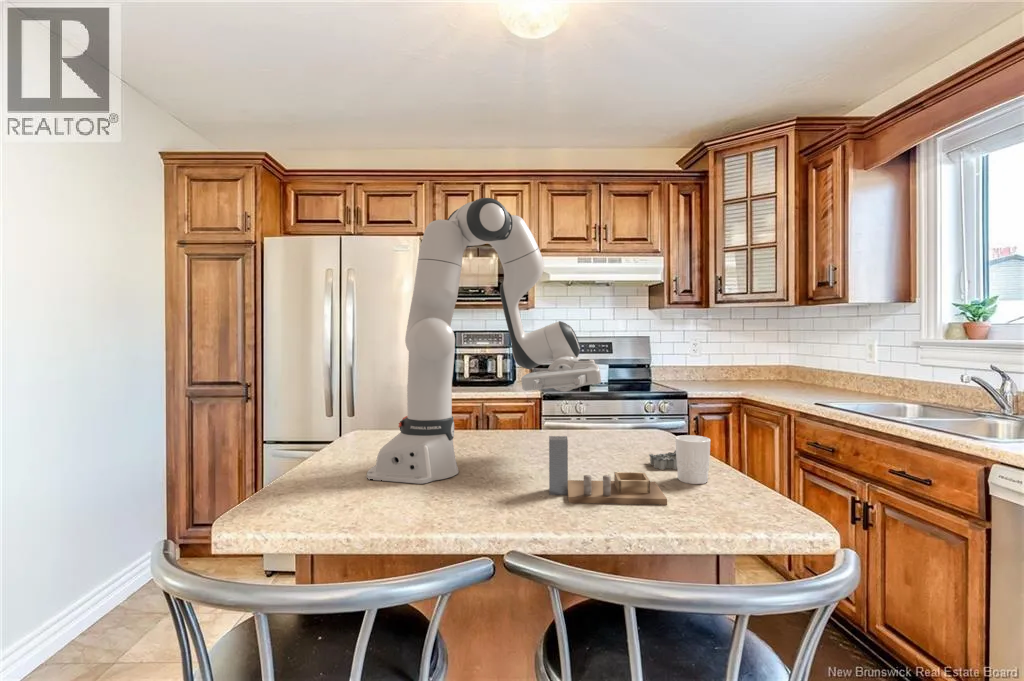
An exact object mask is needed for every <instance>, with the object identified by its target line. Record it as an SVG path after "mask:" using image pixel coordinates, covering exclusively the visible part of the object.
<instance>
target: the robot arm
mask: <svg viewBox="0 0 1024 681" xmlns="http://www.w3.org/2000/svg"><path fill="white" fill-rule="evenodd" d="M485 244H488V245H490V247H492V248H493V249H494V251H495V252H496V254H497V257H498V259H499V261H500V264H501V267H502V269H503V281H502V282H501V284H500V285H499V295H500V301H501V305H502V309H503V310H502V311H503V314H504V317H505V322H506V326H507V331H508V335H509V338H510V342H511V348H512V349H511V352H512V357H513V359H514V361H515V363H516V365H517V366H518V367H521V368H523V369H526V370H532V369H535V368H537V367H538V366H540V365H542V364H544V363H548V362H550V361H552V362H551V364H549V366H548V368H547V370H543V371H535V372H529V373H526V374H524V375H523V376H522V377H521V380H520V381H521V386H522V387H521V388H522V390H523V391H527V392H528V391H538V390H547V389H554V390H556V391H559V392H569V391H572V390H573V389H575V390H576V389H578V388H581V387H584V386H590V385H591V386H592V385H597V384H601V383H602V378H601V370H600V367H599V365H598V363H596V362H595V360H594V359H585V358H583V359H581V358H580V357H579V356H580V352H581V346H580V342H579V340H578V336H577V334H576V333H575V330H574V329H573V328H572V327H571V326H570V325H569V324H568V323H566V322H564V321H556V322H553V323H550V324H549V325H545V326H544V327H540V328H538V329H535V330H533V331H530V332H526V331H525V329H524V326H523V322H522V319H521V314H520V310H519V309H520V308H519V303H520V301H521V300H522V298H523V297H524V296H525V295H526V294H527V293H528V292H529V291H530V290H531V289H532V288H534V286H535V285H537V283H538V282H539V281H540V279H541V278H542V276H543V273H544V270H545V262H544V258H543V256H542V253H541V250H540V247H539V245H538V244H537V241H536V239H535V237H534V234H533V233H532V231H531V229H530V228H529V225H528V224H527V223H526V221H525V220H524V218H522V217H521V216H519V215H517V214H516V215H515V214H511V213H510V212H509V211H508V210H507V208H506V207H505V206H504V205H503V204H502V203H501V202H500V201H499V200H497V199H495V198H492V197H481V198H478V199H476V200H474V201H470V202H469V201H468V202H467V203H465V204H463V205H462V206H461V207H459V208H457V209H456V210H454V211H453V212H452V213H451V215H450V216H449V217H448V218H447V219H437V220H436V219H434V220H432V221H430V223H428V224H427V226H426V228H425V230H424V232H423V235H422V239H421V243H420V246H419V251H418V257H417V265H416V271H415V276H414V285H413V292H412V298H411V302H410V308H409V314H408V319H407V326H406V332H405V340H404V341H405V346H406V348H407V351H408V365H407V366H408V367H407V369H408V370H407V385H406V388H407V389H406V392H407V395H406V397H407V399H406V400H407V403H406V404H407V408H406V409H407V415H406V416H404V417H402V420H400V421H399V423H398V428H399V431H400V432H399V433H398V434H397V435H396V436H394V437H393V438H392V439H390V440H389V441H388V442H387V443H385V444H384V445H383V446H382V447H381V449H379V451H378V454H377V458H376V464H375V465H373V466H371V468H369V469H368V471H366V472H367V473H366V479H367V478H368V480H370V479H373V481H381V480H382V481H383V482H394V483H396V482H397V483H407V484H419V485H420V484H421V485H422V484H423V485H424V484H427V483H428V484H429V483H431V482H434V481H439V480H445V479H449V478H452V477H454V476H456V475H458V474H459V472H460V471H459V467H458V464H457V458H456V455H455V448H454V436H455V420H454V416H453V413H452V412H453V409H452V408H453V404H452V403H453V402H452V401H453V398H452V397H453V392H452V391H453V389H452V388H453V377H454V364H455V349H456V337H455V336H456V335H455V333H454V330H453V328H452V327H451V324H452V320H453V316H454V310H455V307H456V304H457V300H458V296H459V295H458V294H459V290H460V289H459V288H460V280H461V274H462V266H463V256H464V252H465V251H466V248H470V247H471V248H472V247H475V246H483V245H485Z"/></svg>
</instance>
